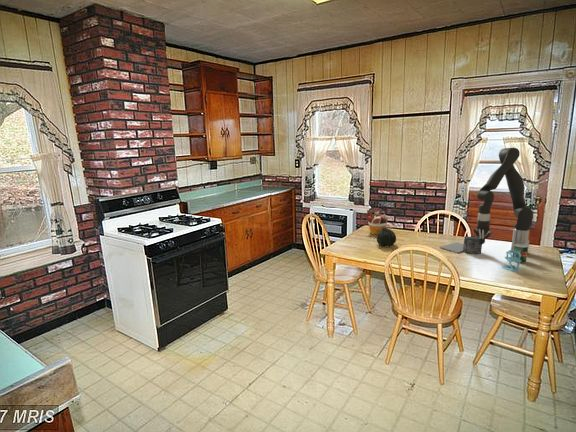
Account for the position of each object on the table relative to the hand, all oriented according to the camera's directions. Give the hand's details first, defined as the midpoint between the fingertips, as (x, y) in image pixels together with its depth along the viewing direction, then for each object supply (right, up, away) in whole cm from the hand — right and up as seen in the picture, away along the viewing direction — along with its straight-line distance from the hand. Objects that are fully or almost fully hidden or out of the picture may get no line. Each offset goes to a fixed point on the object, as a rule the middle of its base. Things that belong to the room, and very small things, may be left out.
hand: (482, 243), depth 242 cm
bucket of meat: (-58, +4, +63) cm, 85 cm away
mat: (-9, -5, +18) cm, 20 cm away
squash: (-59, -4, +29) cm, 66 cm away
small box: (-3, -6, +8) cm, 11 cm away
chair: (+5, -14, -24) cm, 28 cm away
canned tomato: (+18, -11, -11) cm, 24 cm away
